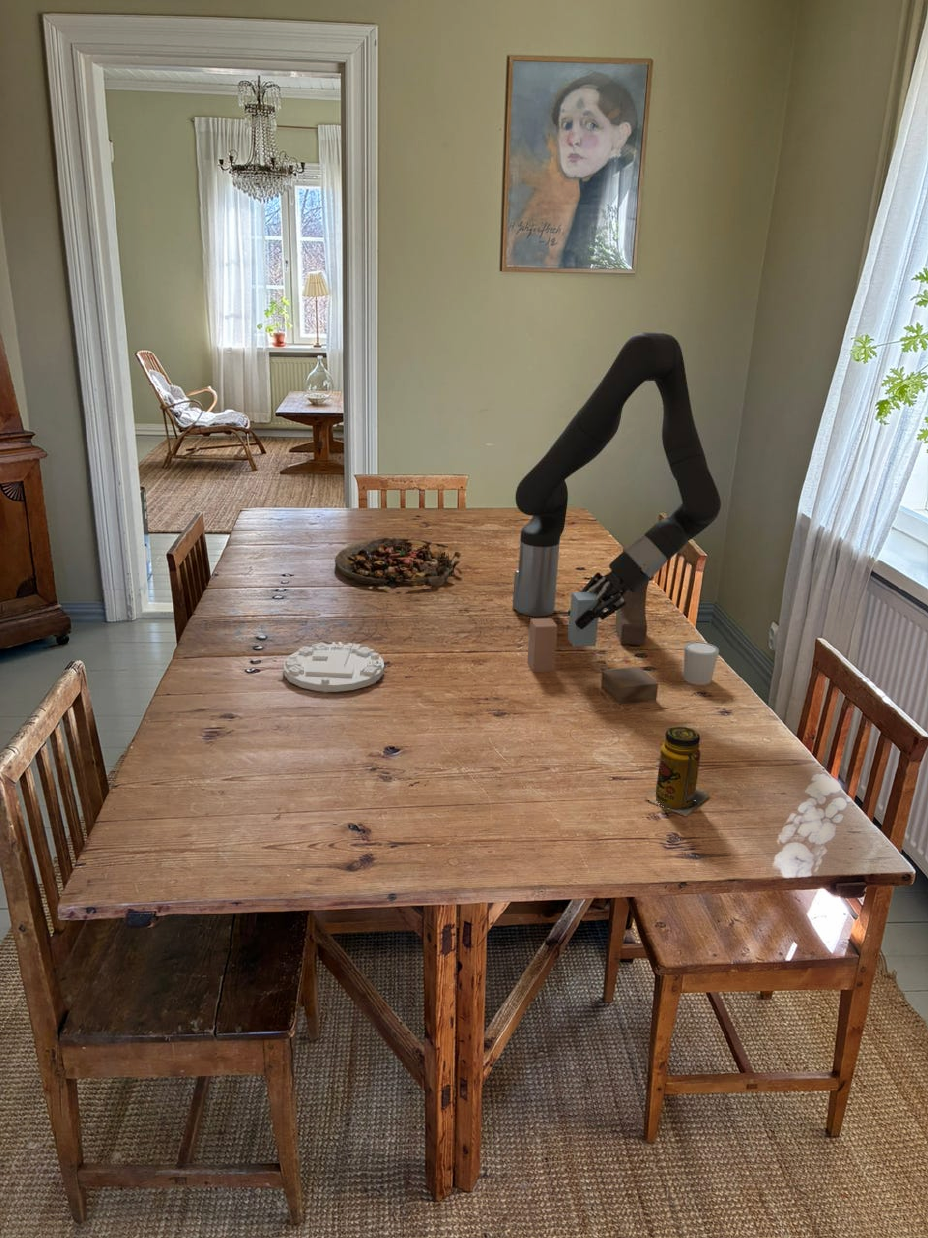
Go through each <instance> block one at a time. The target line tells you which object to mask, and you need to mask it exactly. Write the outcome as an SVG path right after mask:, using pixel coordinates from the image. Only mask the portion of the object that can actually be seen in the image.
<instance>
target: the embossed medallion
mask: <svg viewBox="0 0 928 1238" xmlns="http://www.w3.org/2000/svg"><path fill="white" fill-rule="evenodd" d="M283 672H284V673H283V675H284V676H285V678H286V679H287V681H289V682H290V683H291V684H294V685H295V686H298V687H299V688H303V689H306V690H310V691H311V690H312V691H316V692H323V693H325V694H327V693H330V692H332V693H333V692H335V693H337V692H346V691H354V690H358V689H361V688H366V687H369V686H371V685H374V684H376V683H377V682H378V681H379V680H380V679H381V678H382V676H383V675H384V673H385V664H384V659H383V658H382V657H381V655H380V653H378V652H375V649H373V648H370V647H367V646H362V644H361V643H351V642H347V644H344V643H343V642H342V641H338V643H336V642H334V641H333V642H331V643H330V644H328V643H324V642H319V643H314V644H311V646H310V647H309V646H302V647H300V648H299V649H298V650H297V651H296V652H293V653H292V654H289V655H288V657H287V658H286V659H285V660H284V664H283Z"/></svg>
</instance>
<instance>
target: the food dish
mask: <svg viewBox="0 0 928 1238" xmlns="http://www.w3.org/2000/svg"><path fill="white" fill-rule="evenodd" d="M410 541H412V539H409V538H401V537H396V538H395V537H394V538H389V537H381V538H376V539H373V540H368V541H362V542H360V543H357V544H353V545H349V546H348V547H346V548H344V549H342V550H341V551H339V552H338V554H336V556H335V558H334V563H335V564H334V565H335V566H334V570H335V571H336V572H338V574H339V575H343V576H345V577H346V578H348V580H353V581H355V582H356V583H358V584H365V585H372V586H373V585H374V586H380V587H382V586H384V585H385V586H387V587H388V588H399V587H410V586H426V585H427V586H431V587H432V586H433V587H439V586H442V585H443V584H445V583H446V582H447V580H448V579H449V578H450V577H451V576H456V575H455V568H456V567H457V565H458V564H459V563H460V562H461V560H455V561H454V562H453V560H454V558H455V557H456V558H457V559H459V558H461V556H462V554H461V553H460V552H459V551H455V553H454V555H453V556H452V558H451V559H450V554H449V553H447V554H446V551H442V550H436V551H433V552H432V551H431V547H430V546H431V545H436V546H437V547H439V548H440V547H441V548H449V546H448V545H447V544H442V543H438V542H434V543H433V542H431V541H428V540H424V539H423V540H422V539H415V540H414V541H416V542H421V543H425V544H423V546H421V547H418V546H417V545H416V546H415V545H413V543H412V542H410ZM452 562H453V563H452Z"/></svg>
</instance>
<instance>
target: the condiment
mask: <svg viewBox="0 0 928 1238" xmlns="http://www.w3.org/2000/svg"><path fill="white" fill-rule="evenodd" d="M663 741H664V742H663V744H662V745H661V748H660V755H659V764H658V772H657V778H656V779H657V781H656V786H655V790H654V791H653V792H652V793H651V794H650V795H651V796H656V801H658V802H657V804H658V803H660V804H659V805H657V804H656V803H655V802H654V801H650V800H649V801H648V800H647V799H646V798H644V800H645V801H648V802H650V803H652V804H654V805H656V806H659V807H661V808H662V809H666V810H668V811H671V812H672V813H677V814H679V815H681V816H684V817H686V818H687V816H689V815H690V814H691V813H692V812H694V811H695V810H696V809H697V808H698V807H699V806H700V805H701V804H702V803H703V802H704V801H706V800H708V798H709V797H710V796H711V794H710V793H707V792H703V791H701V790H698V789H696V788H697V783H698V774H699V767H700V761H701V760H700V759H701V750H700V742H701V737H700V734H699V732H697V731H696V730H695V729H692V728H690V727H686V726H677V725H676V726H671V727H669V728H668V729H667V730H666V731H665V736H664V740H663ZM655 792H656V794H655ZM653 794H655V795H653ZM694 800H696V801H694ZM660 805H662V806H660ZM663 806H664V807H665V808H664V807H663ZM668 808H669V809H668Z"/></svg>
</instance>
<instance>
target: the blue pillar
mask: <svg viewBox="0 0 928 1238" xmlns="http://www.w3.org/2000/svg"><path fill="white" fill-rule="evenodd" d="M596 596H597V595H596V594H595V593H589V592H588V591H587V592H581V591H572V592H571V599H570V608H569V610H570V616H569V617H568V618H569V619H568V629H567V630H568V631H567V639H568V641H569V643H570V644H571V645H572V647H573V648H574V647H575V648H576V647H577V648H579V647H582V648H583V647H584V648H585V647H596V642H597V635H598V625H599V618H595V619H594V620H593V621H591V622H590V623H589V624H588V625H587V626H586V627H585V628H584V629H580V628H579V627H578V626H577V625H576V624H575V620H577V619H578V618H579V617H580V616H581V615H582V614H583V613H585V612H586V611H587V610H589V608H590V607H591V606H592V605H593V604H594V603H595V602H596V600H595V597H596ZM598 606H600V604H599V605H598ZM598 606H597V607H598Z"/></svg>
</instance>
